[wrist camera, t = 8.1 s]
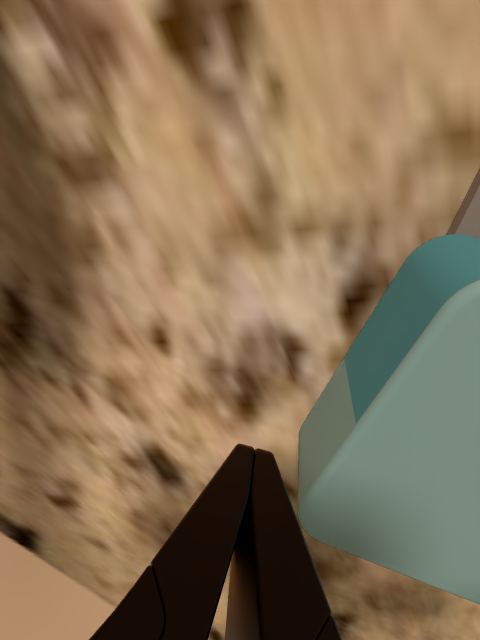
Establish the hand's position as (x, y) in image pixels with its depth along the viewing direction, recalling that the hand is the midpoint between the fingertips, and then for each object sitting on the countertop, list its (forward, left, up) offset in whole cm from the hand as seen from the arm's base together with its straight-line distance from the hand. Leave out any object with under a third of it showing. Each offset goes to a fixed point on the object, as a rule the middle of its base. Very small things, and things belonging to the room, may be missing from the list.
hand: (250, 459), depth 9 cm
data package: (+3, -1, -5) cm, 6 cm away
